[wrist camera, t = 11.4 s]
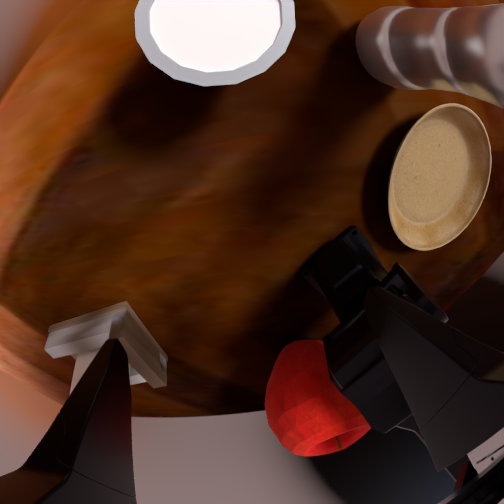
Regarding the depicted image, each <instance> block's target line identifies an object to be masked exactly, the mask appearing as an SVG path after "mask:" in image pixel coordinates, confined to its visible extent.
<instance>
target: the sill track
mask: <svg viewBox="0 0 504 504" xmlns="http://www.w3.org/2000/svg"><path fill="white" fill-rule="evenodd" d="M48 332H49V336H48V339H47V342H46V345H45V348H44V350H45V351H46V352H47V353H48V354H49V355H50V356H51V357H52V358H53V359H54V358H58V357H63V356H67V355H71V356H72V357H73V358H74V359H75V360H76V359H77V354H78V353H80V352H84V351H88V350H92V349H96V348H100V347H102V345H103V344H104V343H105V341H106V340H107V339H113V338H117V339H119V341H120V342H121V344H122V346H123V347H124V349H125V351H126V352H127V355H128V363H129V364H130V365H131V367H130V385H133V384H138V383H143V382H148V383H149V384H150V385H151V386H152V387H153V388H157V387H162V386H167V369H166V362H168V358H167V355H166V353H165V352H164V351H163V350H162V348H161V347H160V346H159V344H158V343H157V342H156V341H155V339H154V338H153V337H152V335H151V334H150V333H149V331H148V330H147V329H146V327H145V326H144V325H143V323H142V322H141V321H140V319H139V318H138V317H137V315H136V314H135V312H134V311H133V310H132V308H131V307H130V305H129V304H128V302H127V301H124V302H121V303H118V304H115V305H112V306H109V307H105V308H102V309H99V310H96V311H93V312H90V313H87V314H84V315H81V316H78V317H75V318H71V319H68V320H65V321H62V322H59V323H56V324H53V325H50V326H49V329H48Z"/></svg>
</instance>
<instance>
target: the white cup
mask: <svg viewBox="0 0 504 504" xmlns="http://www.w3.org/2000/svg"><path fill="white" fill-rule="evenodd" d="M135 30H136V39H137V41H138V43H139V44H140V46H141V48H142V50H143V51H144V53H145V55H146V57H147V58H148V60H149V62H150V63H152V64H153V65H155V66H156V67H158V68H159V69H161V70H162V71H163V72H165V73H166V74H168V75H169V76H170V77H172V78H173V79H176V80H181V81H185V82H189V83H193V84H197V85H200V86H204V87H205V86H215V85H227V84H237V83H239V82H242V81H244V80H246V79H248V78H251V77H253V76H255V75H258V74H260V73H263V72H265V71H266V70H267V69H268V68H269V67H270V66H271V65H272V64H273V63H274V62H275V61H276V60H277V59H278V58H279V57H280V56H281V55H282V54H284V53H285V51H286V49H287V46H288V44H289V42H290V39H291V37H292V34H293V32H294V30H295V11H294V2H293V0H140V1H139V3H138V5H137V8H136V10H135Z"/></svg>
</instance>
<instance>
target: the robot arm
mask: <svg viewBox="0 0 504 504" xmlns="http://www.w3.org/2000/svg"><path fill="white" fill-rule="evenodd" d="M354 230H355V231H354ZM353 231H354V233H352V232H353ZM305 271H307V272H306V273H305ZM300 273H301V275H302V277H303V278H304V279H306V280H307V281H308V282H309V283H310V284H311V285H312V286H313V287H314V288H315V289H316V290H317V291H318V292H320V293H321V294H322V295H323V296H324V297H325V298H326V299H327V300H328V302H329V303H330V305H331V307H332V309H333V310H334V312H335V314H336V316H337V317H338V319H339V321H340V324H339V325H338V326H337V327H336V328H335V329H334V330H333V331H332V332H331V333H329V334H327V335H326V336H325V337H324V338H323V344H324V349H325V355H326V360H327V366H328V372H329V376H330V380H331V382H332V383H333V384H334V385H335V387H336V388H337V389H338V390H339V391H340V392H341V394H342V395H343V396H345V397H346V398H347V399H348V400H349V401H351V402H352V403H353V405H354V406H355V407H356V408H357V409H358V410H359V411H360V413H361V414H362V415H363V417H364V418H365V420H366V421H367V423H368V424H369V425H370V427H371V428H372V429H374V430H376V431H378V432H381V433H386V432H388V431H389V430H391V429H392V428H393V427H399V428H402V429H406V430H411V431H414V432H415V433H416V434H417V436H419V438H420V439H421V440H422V442H423V443H424V444H425V445H426V446H427V448H428V450H429V452H430V455H431V457H432V460H433V462H434V465H435V467H436V469H437V471H440V470H442V469H444V468H445V470H446V471H447V472H448V473H449V474H450V476H451V477H452V478H453V480H454V481H455V482H456V485H455V488H454V493H453V494H452V495H450V496H449V497H447V498H446V499H445V500H443V501H441V502H440V503H438V504H504V353H502V352H500V351H497V350H496V349H493V348H491V347H489V346H487V345H485V344H483V343H481V342H479V341H476V340H474V339H472V338H470V337H469V336H467V335H465V334H463V333H461V332H459V331H458V330H456V329H454V328H452V327H450V326H449V325H447V324H445V323H446V322H447V321H448V318H447V316H446V315H445V313H444V312H443V310H442V308H441V307H440V306H439V304H438V303H437V301H436V300H435V298H434V297H433V296H432V295H431V294H430V293H429V292H428V291H427V290H426V289H425V287H424V286H423V285H422V284H421V283H420V282H419V281H418V280H417V279H416V278H414V277H413V276H412V275H411V274H410V273H409V272H408V271H407V270H405V269H404V268H403V267H402V266H401V265H400V264H399V263H397V262H396V263H395V264H394V266H393V268H392V270H391V271H390V272H389V273H388V272H387V271H386V270H385V269H384V267H383V266H382V263H381V262H380V260H379V258H378V257H377V255H376V254H375V252H374V251H373V249H372V248H371V246H370V245H369V243H368V242H367V240H366V239H365V237H364V236H363V235H362V233H361V232H360V230H359V229H358V228H357V227H356V226H351V227H350V228H348V229H347V230H346V231H345V232H344V233H343V234H342V235H340V236H339V237H338V238H337V239H336V240H335V241H333V242H332V243H331V244H330V245H329V246H327V247H326V248H325V249H324V250H323V251H322V252H320V253H319V254H318V255H317V256H316V257H314V258H313V259H312V260H311V261H310V262H308V263H307V264H306V265H305V266H304V267H302V268H301V270H300ZM0 504H137V503H136V495H135V484H134V472H133V457H132V433H131V388H130V377H129V364H128V355H127V352H126V351H125V349H124V347H123V346H122V344H121V342H120V341H119V339H117V338H113V339H107V340H106V341H105V343H104V344H103V345H102V347H101V348H100V350H99V351H98V353H97V354H96V356H95V357H94V359H93V360H92V362H91V363H90V365H89V366H88V368H87V369H86V371H85V372H84V374H83V375H82V377H81V378H80V380H79V381H78V383H77V384H76V386H75V388H74V389H73V391H72V392H71V394H70V395H69V397H68V399H67V400H66V402H65V403H64V405H63V407H62V408H61V410H60V413H58V415H57V416H56V418H55V420H54V421H53V423H52V425H51V426H50V428H49V429H48V431H47V432H46V434H45V435H44V437H43V438H42V440H41V441H40V442H39V444H38V445H37V447H36V448H35V449H34V451H33V452H32V454H31V455H30V456H29V458H28V459H27V461H26V462H25V463H24V464H23V466H21V467H20V468H19V469H17V470H15V471H13V472H11V473H8V474H6V475H3V476H1V477H0Z"/></svg>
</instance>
